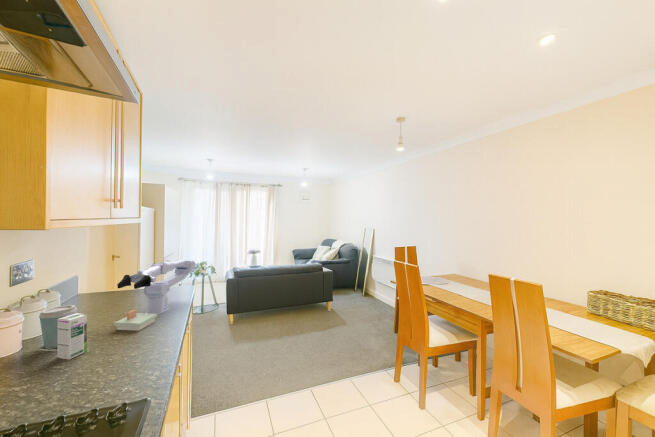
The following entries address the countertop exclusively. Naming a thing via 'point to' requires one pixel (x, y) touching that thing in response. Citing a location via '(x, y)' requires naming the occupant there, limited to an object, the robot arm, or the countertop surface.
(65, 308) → the disposable coffee cup
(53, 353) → the countertop surface
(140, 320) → the lid
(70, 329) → the syrup box
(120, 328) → the tub
